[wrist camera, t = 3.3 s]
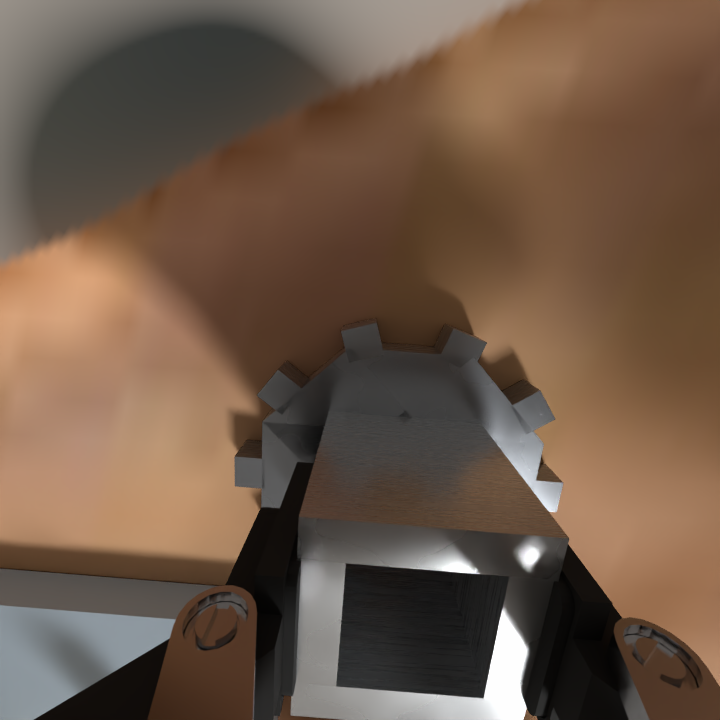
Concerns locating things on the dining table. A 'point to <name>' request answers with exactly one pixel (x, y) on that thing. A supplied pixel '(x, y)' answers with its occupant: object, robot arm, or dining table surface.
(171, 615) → the carrier
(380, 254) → the dining table surface
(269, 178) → the dining table surface
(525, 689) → the gear
